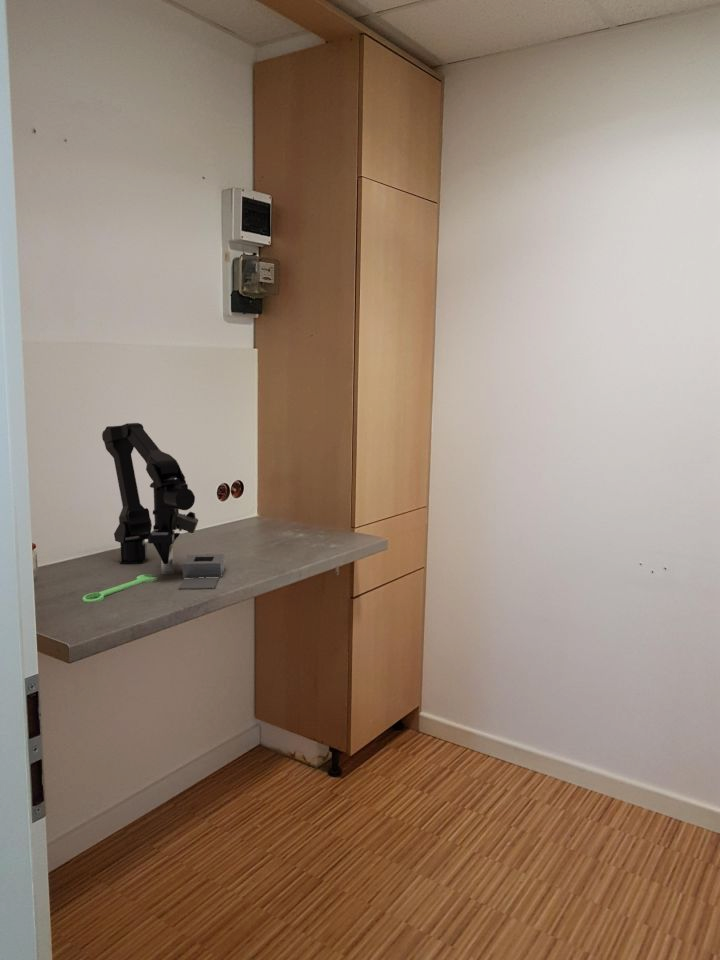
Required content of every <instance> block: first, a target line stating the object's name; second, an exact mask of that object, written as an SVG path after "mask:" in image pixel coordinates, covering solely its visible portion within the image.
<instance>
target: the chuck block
mask: <svg viewBox="0 0 720 960" xmlns="http://www.w3.org/2000/svg"><path fill="white" fill-rule="evenodd" d="M181 565H182V566H181V567H182V579H183V578H193V579H194V578H199V577H204V578H206V577H221V575H222V576H223V574H224V572H223V570H224V571H225V569H224V568H226V566H225V554H221V553H220V554H218V553H217V554H187V556H186V557H185V559H184V560H183V562H182V564H181ZM222 573H223V574H222ZM221 578H222V577H221Z"/></svg>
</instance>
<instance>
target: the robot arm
mask: <svg viewBox="0 0 720 960" xmlns="http://www.w3.org/2000/svg"><path fill="white" fill-rule="evenodd" d="M101 433H102V434H101V438H102V441H103V442H104V447H105V450H106V451H107V452H108V453H109V454H110V456H111V457H112V458H113V461H114V466H115V472H116V478H117V484H118V488H119V494H120V500H121V504H122V505H121V506H122V509H121V512H120V514H119V515H118V523H119V524H118V525H117V528H116V529H115V531H114V533H113V536H114V541H115V542H117V543H120V560H119V564H120V565H121V564H143V563H144V562H145V561H146V559H148V544H152V545H153V546H154V547H155V550H156V551H157V553H158V555H159V557H160V560H161V559H162V561H163V563H164V564H168V561H169V554H170V547H171V544H172V543H173V545H174V544H175V543H174V542H175V541H176V540H177V538H179V536H180V535H181V533H180V531H182V530H183V531H185V532H187V533H190V534H194V533H195V532H196V528H197V526H198V522H199V519H198V518H197V517H196V513H195V512H192V511H189V512H188V513H187V514H184V513H180V511H188V510H190V509H191V508H192V507H193V506H194V504H195V500H196V498H195V497H196V496H195V494H194V492H193V491H192V490H191V489H190V488H189V487H188V483H187V482H186V477H185V474H184V473H183V471H182V469H181V466H180V464H179V463H178V461H177V460H176V459H175V458H174V457H173V456H172V455H170V454H169V453H166V452H164V451H162V450H161V449H160V448H159V447H158V446H157V444H156V443H155V442H154V441H153V439H152V438H151V437H150V436H149V434H148V433H147V432H146V431H145V429H144V426H143V424H142V423H139V422H130V423H124V424H121V425H111V426H110V425H109V426H106V427H105V429H104V430H103V431H102V432H101ZM134 449H135V450H136V451H137V453H138V454H139V455H140V457H141V458H142V459H143V461H144V462H145V463H146V465H145V466H146V467H145V471H146V472H147V474H148V476H149V477H150V479H151V481H152V482H151V483H150V485H149V487H150V488H152V489H153V510H152V515H154V525H153V524H152V520H151V516H150V510H149V509H148V507H146V508H145V507H144V506H143V504H141V501H140V495H139V490H138V484H137V479H136V473H135V468H134V463H133V458H132V454H133V451H134ZM179 510H180V511H179ZM152 526H153V527H152ZM152 529H153V530H152ZM176 530H178V531H179V532H176ZM146 540H147V543H146V542H145V541H146Z"/></svg>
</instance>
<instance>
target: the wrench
mask: <svg viewBox="0 0 720 960" xmlns="http://www.w3.org/2000/svg"><path fill="white" fill-rule="evenodd" d="M151 576H152V577H151ZM156 579H158V578H157V576H154V577H153V574H150V573H149V574H141V575H138V576H136V579H134V580H132V581H129V582H126V583H122V584H119V585H117V586H113V587H111V588H107V589H105V590H102V591H101V590H100V591H99V592H90V593H88V594H85V595H83V596H82V602H84V603H90V604H92V603H98V602H103V600H104V599H105V596H109V595H111V594H114V593H117V592H121V591H123V590H126V589H129V588H132V587H135V586H137V585H141V584H142V582H143V583H151V582H155V581H157V580H156ZM154 580H155V581H154ZM150 581H151V582H150ZM91 598H92V599H91Z"/></svg>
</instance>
